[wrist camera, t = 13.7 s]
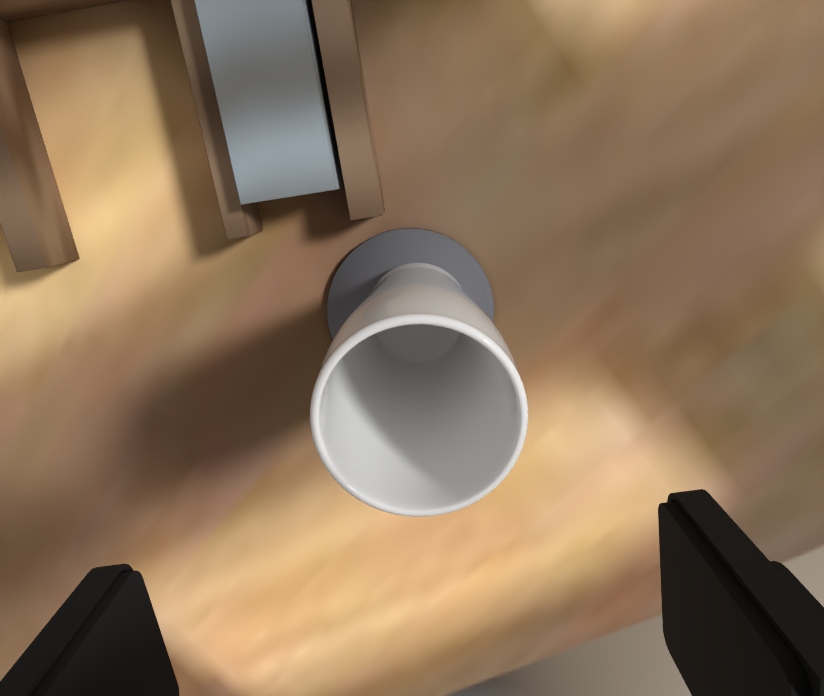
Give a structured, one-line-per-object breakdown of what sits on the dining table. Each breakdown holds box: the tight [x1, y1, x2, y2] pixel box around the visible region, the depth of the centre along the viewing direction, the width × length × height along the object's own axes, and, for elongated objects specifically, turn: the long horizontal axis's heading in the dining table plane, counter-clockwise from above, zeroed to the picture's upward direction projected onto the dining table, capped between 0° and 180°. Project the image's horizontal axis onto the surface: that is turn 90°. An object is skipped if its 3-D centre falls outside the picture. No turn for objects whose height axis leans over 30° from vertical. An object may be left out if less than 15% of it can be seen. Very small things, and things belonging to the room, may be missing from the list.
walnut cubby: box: [0, 0, 385, 272], centre depth 28 cm, size 13×18×5 cm
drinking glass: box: [310, 263, 528, 517], centre depth 25 cm, size 7×7×15 cm
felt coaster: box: [327, 228, 494, 339], centre depth 33 cm, size 9×9×1 cm
